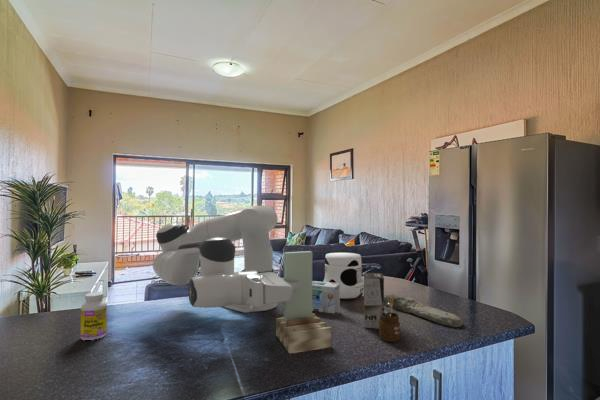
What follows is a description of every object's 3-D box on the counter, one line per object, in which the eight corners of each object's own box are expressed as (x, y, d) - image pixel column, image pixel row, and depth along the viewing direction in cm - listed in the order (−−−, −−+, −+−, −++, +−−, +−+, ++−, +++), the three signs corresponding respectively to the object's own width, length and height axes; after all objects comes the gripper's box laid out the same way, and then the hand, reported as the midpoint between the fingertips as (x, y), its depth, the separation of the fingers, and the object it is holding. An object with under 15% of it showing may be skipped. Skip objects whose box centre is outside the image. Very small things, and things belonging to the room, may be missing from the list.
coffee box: (384, 329, 106) (384, 278, 106) (363, 328, 108) (363, 277, 108) (383, 319, 115) (383, 272, 115) (364, 318, 117) (364, 271, 117)
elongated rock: (449, 335, 106) (468, 330, 111) (451, 318, 106) (469, 315, 111) (372, 301, 136) (390, 299, 141) (373, 288, 136) (391, 286, 141)
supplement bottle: (79, 343, 96) (79, 298, 96) (81, 335, 101) (82, 292, 102) (106, 339, 99) (106, 295, 99) (107, 331, 105) (107, 290, 105)
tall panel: (286, 324, 95) (286, 253, 95) (283, 321, 97) (284, 252, 97) (312, 320, 97) (312, 251, 98) (309, 318, 99) (309, 251, 99)
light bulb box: (306, 314, 121) (306, 284, 121) (312, 308, 127) (313, 280, 128) (335, 318, 117) (335, 287, 117) (340, 312, 123) (340, 282, 123)
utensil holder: (378, 340, 97) (378, 299, 98) (380, 333, 103) (380, 294, 103) (399, 343, 95) (399, 301, 96) (400, 335, 101) (400, 295, 101)
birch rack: (289, 359, 86) (289, 333, 86) (275, 340, 98) (275, 317, 98) (332, 352, 90) (332, 328, 90) (313, 334, 102) (313, 313, 102)
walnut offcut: (288, 344, 91) (288, 322, 92) (286, 341, 93) (286, 319, 93) (319, 339, 94) (318, 318, 95) (316, 337, 96) (316, 316, 96)
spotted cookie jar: (319, 292, 151) (319, 252, 151) (357, 291, 153) (357, 251, 153) (327, 303, 133) (327, 258, 134) (369, 302, 135) (369, 257, 136)
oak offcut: (296, 349, 88) (296, 330, 88) (294, 346, 90) (294, 327, 90) (321, 345, 91) (321, 327, 91) (318, 342, 92) (318, 324, 92)
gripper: (243, 289, 102) (287, 285, 107) (258, 309, 83) (310, 303, 88) (243, 268, 102) (287, 265, 107) (258, 283, 83) (310, 279, 88)
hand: (297, 283), depth 97 cm, fingers closed on tall panel, 2 cm apart
